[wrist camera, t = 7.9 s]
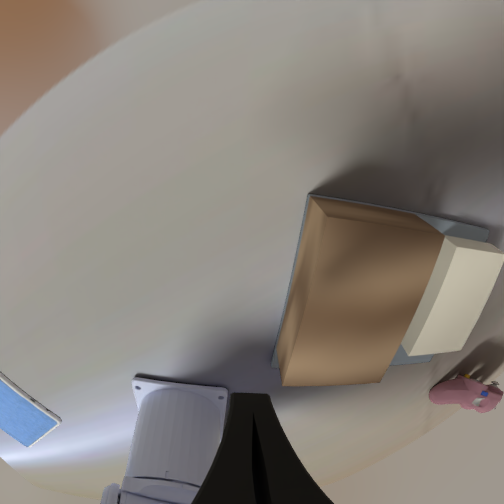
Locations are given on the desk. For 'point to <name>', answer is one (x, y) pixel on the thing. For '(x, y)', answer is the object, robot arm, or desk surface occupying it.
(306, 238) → the brown wooden block
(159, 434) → the robot arm
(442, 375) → the desk surface
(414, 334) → the cream rectangular block
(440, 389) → the video game controller
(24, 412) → the tablet computer
